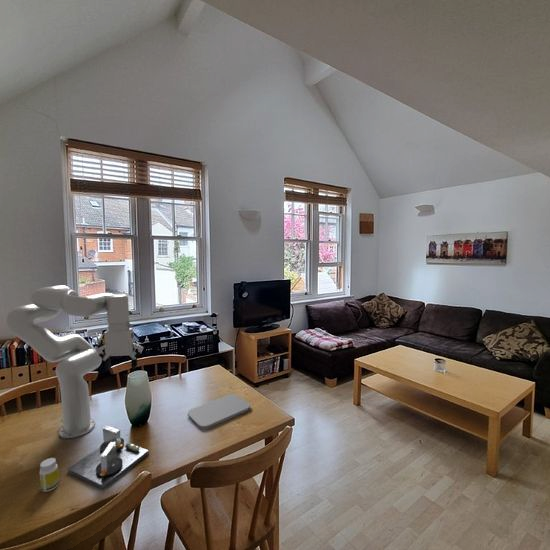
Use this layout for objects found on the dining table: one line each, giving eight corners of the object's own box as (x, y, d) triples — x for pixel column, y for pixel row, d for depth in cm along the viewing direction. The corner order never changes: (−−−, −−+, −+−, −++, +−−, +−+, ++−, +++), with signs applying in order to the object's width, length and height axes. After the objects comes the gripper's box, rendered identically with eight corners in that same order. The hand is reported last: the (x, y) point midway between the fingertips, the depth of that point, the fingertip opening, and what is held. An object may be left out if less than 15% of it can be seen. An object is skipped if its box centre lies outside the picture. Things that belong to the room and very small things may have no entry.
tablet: (185, 416, 137) (185, 411, 137) (233, 397, 154) (233, 392, 154) (202, 433, 125) (202, 427, 125) (252, 410, 142) (252, 405, 142)
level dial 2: (95, 449, 112) (94, 432, 111) (114, 437, 119) (113, 420, 119) (111, 456, 108) (110, 438, 108) (130, 443, 116) (129, 426, 115)
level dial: (103, 459, 107) (101, 441, 106) (126, 458, 107) (125, 440, 107) (89, 479, 98) (88, 459, 97) (115, 477, 99) (114, 458, 98)
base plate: (67, 472, 103) (66, 463, 103) (114, 441, 119) (114, 433, 119) (103, 490, 96) (102, 480, 95) (148, 454, 112) (148, 445, 112)
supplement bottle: (62, 480, 100) (60, 456, 99) (52, 492, 95) (50, 467, 94) (47, 480, 100) (45, 457, 99) (37, 492, 95) (34, 467, 94)
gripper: (145, 323, 122) (147, 364, 124) (100, 324, 121) (102, 365, 123) (138, 328, 115) (140, 371, 117) (90, 329, 113) (93, 373, 115)
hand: (121, 368), depth 120 cm, fingers open, 9 cm apart
